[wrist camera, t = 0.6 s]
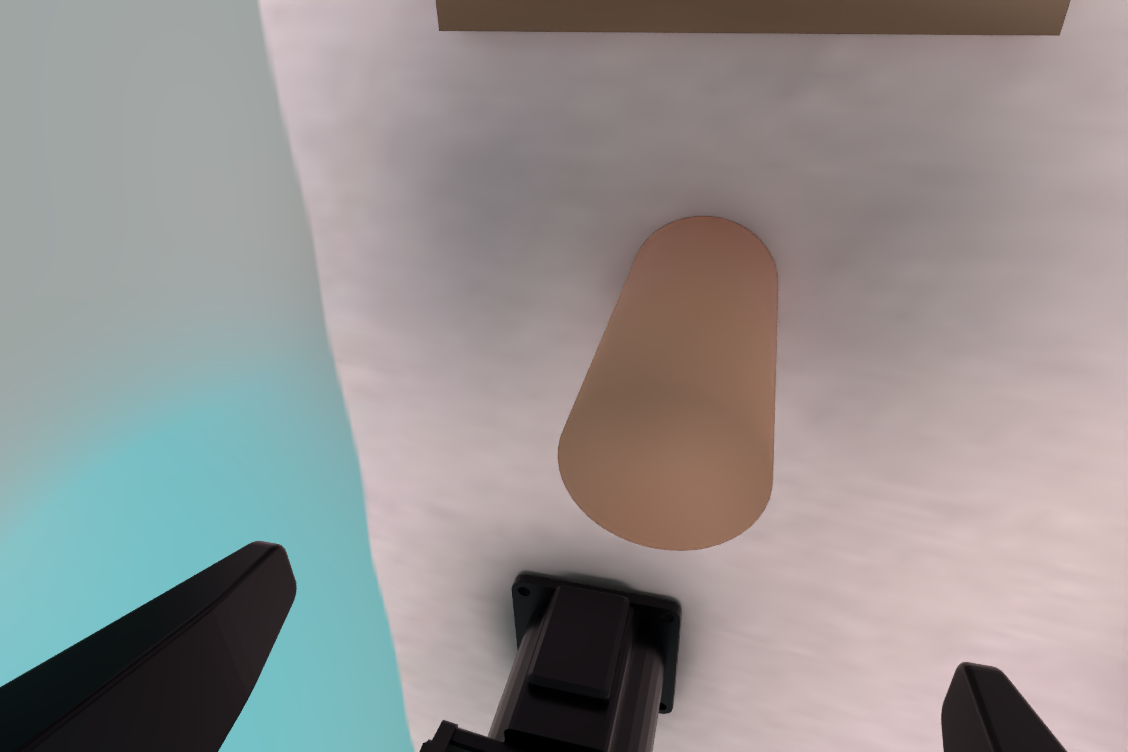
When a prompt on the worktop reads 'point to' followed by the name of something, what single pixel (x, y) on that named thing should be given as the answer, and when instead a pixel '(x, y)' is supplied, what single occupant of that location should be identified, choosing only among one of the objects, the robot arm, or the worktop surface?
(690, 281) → the terracotta pin
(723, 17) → the board
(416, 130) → the worktop surface
